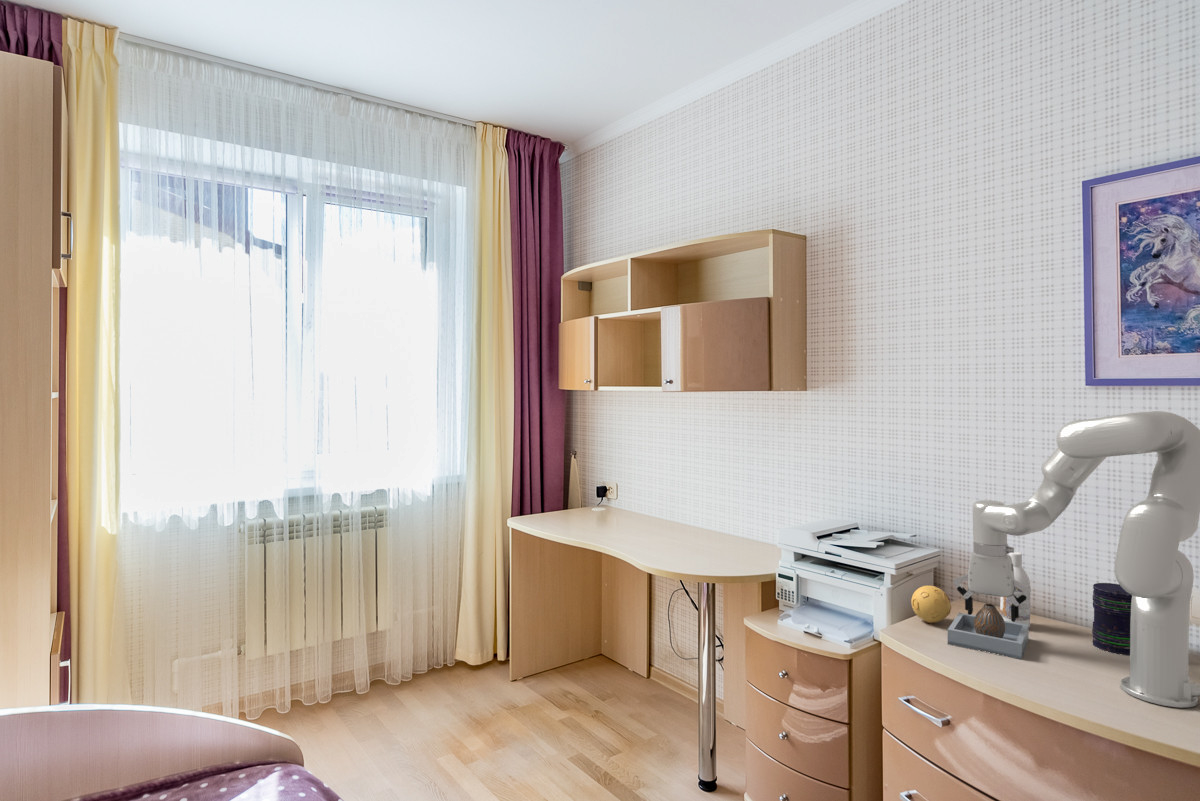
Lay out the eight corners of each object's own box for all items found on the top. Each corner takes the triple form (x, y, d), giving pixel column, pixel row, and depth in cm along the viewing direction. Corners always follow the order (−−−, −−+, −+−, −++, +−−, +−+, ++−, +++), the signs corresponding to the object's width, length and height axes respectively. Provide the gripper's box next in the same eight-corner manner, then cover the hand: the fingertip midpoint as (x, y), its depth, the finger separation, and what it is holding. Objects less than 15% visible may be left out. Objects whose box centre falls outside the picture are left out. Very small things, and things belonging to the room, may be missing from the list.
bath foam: (999, 619, 188) (1000, 548, 188) (1028, 623, 185) (1029, 551, 185) (1001, 627, 182) (1001, 554, 182) (1031, 631, 179) (1031, 557, 179)
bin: (1028, 639, 173) (1028, 625, 173) (1021, 659, 161) (1021, 643, 160) (959, 626, 183) (959, 612, 183) (947, 644, 170) (947, 629, 170)
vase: (1009, 645, 168) (1010, 610, 167) (979, 643, 169) (979, 608, 169) (998, 635, 174) (999, 601, 174) (970, 633, 176) (970, 600, 175)
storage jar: (1091, 637, 175) (1091, 580, 174) (1139, 645, 169) (1140, 586, 169) (1092, 650, 166) (1093, 590, 166) (1143, 658, 161) (1144, 597, 161)
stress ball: (914, 618, 192) (897, 600, 188) (935, 591, 193) (918, 572, 189) (943, 635, 183) (925, 617, 179) (964, 607, 184) (947, 588, 180)
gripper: (1031, 551, 169) (1033, 619, 169) (955, 543, 179) (956, 607, 179) (1028, 556, 163) (1030, 627, 163) (949, 548, 173) (951, 614, 173)
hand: (991, 616), depth 171 cm, fingers open, 9 cm apart
